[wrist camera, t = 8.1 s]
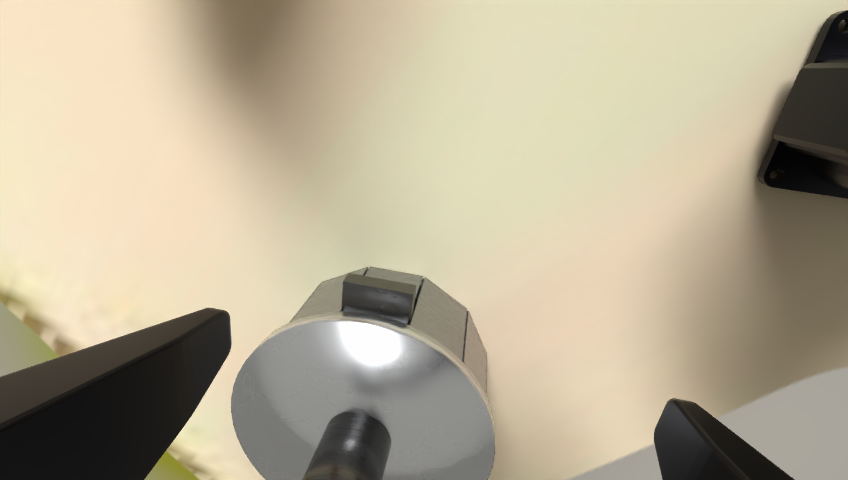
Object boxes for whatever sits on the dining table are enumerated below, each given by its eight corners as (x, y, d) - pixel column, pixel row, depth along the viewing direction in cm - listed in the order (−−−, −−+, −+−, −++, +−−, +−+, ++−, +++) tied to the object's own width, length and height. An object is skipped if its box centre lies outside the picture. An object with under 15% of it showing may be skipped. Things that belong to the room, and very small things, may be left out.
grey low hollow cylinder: (506, 266, 21) (511, 320, 16) (462, 463, 26) (456, 546, 22) (295, 229, 22) (244, 270, 17) (293, 426, 27) (254, 498, 23)
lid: (520, 341, 17) (534, 468, 11) (470, 537, 21) (464, 692, 16) (234, 288, 18) (124, 381, 12) (245, 486, 22) (169, 615, 17)
